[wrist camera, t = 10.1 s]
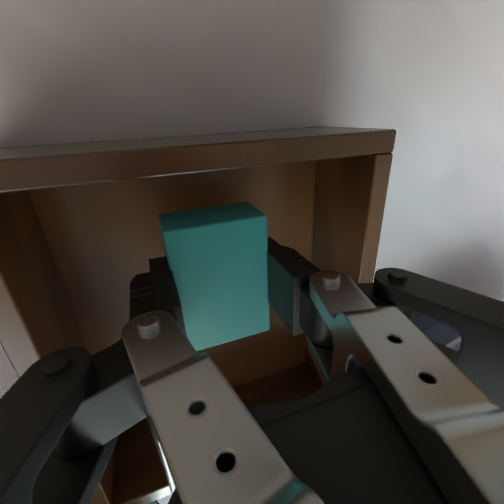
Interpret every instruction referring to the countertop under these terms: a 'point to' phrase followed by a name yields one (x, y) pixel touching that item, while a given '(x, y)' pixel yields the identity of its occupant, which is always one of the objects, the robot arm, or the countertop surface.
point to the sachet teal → (219, 271)
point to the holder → (151, 246)
